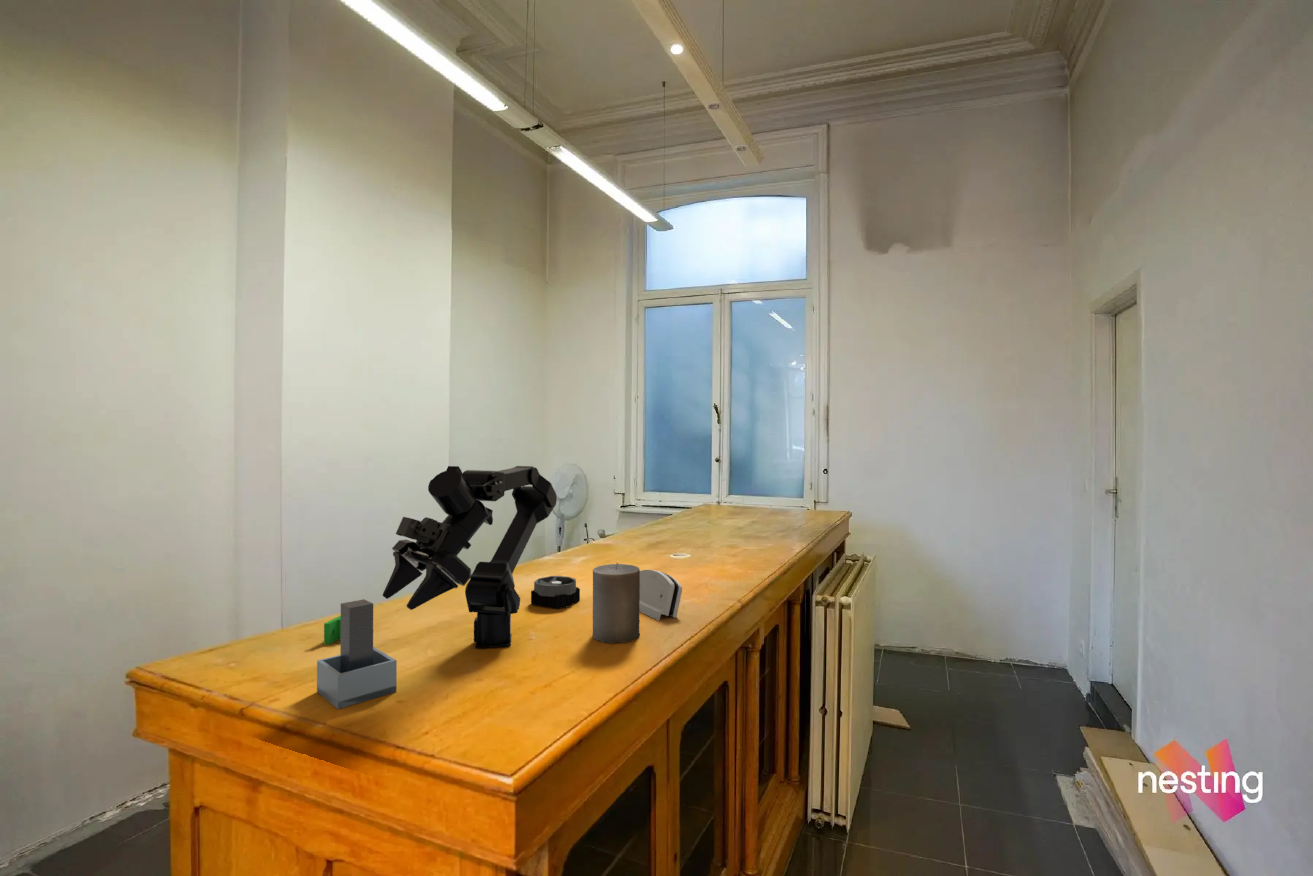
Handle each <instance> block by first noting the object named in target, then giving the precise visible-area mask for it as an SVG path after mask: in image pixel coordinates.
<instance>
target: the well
mask: <svg viewBox="0 0 1313 876" xmlns="http://www.w3.org/2000/svg"><path fill="white" fill-rule="evenodd" d="M397 666H398V665H397V659H396V658H393V657H392V656H390V655H388V654H387V653H385V652H383V651H381V650H380V649H378V648H376V647H374V646H373V665H371V666H367V667H364V668H360V669H356V670H352V671H348V672H344V673H340V667H341V654H337V655H334V656H330V657H325V658H321V659H318V660H316V693H318V694H319V695H320V696H321V697H323V698H324V699H325V700H326V701H327V702H329V703H330V704H331V705H332V706H333V707H335V708H336V709H337V710H340V709H343V708H346V707H349V706H350V707H351V706H354V705H356V704H360V703H363V702H367V701H370V700H375V699H377V698H380V697H384V696H387V695H390V694H393V693H397V674H398V673H397Z"/></svg>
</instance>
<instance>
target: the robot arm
mask: <svg viewBox="0 0 1313 876" xmlns="http://www.w3.org/2000/svg"><path fill="white" fill-rule="evenodd" d="M427 487H428V488H427V489H428V492H429V494H430V495H431V497H432V498H433V499H434V501H435V502H436V503H437V504H438V506H439V507H440V508H441V510H442V511H443V512H444V514H446V515H447V516H446V517H445V519H443V521H442V522H440V521H438V520H435V519H434V518H430V517H427V516H426V517H424V518H423V519H422V520H419V519H415V518H411V517H407V516H402V518H401V521H400V523H399V524H398V525H399V526H398V528H397V530H396V532H395V535H397V536H400V537H405V538H408V539H399V540H398V541H397V542H396V543H395V544H394V546H392V547H391V549H392V556H393V557H394V565H395V566H394V568H393V571H392V573H391V575H390V577H389V580H388V582H387V584H386V586H385V588H384V590H383V593H382V597H383V598H385V599H386V600H388V599H389V598H391V597H393V596H394V595H396V594H397V593H399V592H400V591H402V590H403V589H404V588H405V587H407V586H408V585H410V584H411V583H412V582H414V581H415V580H417V579H418V578H419V577H421V576H422V575H423V571H425V576H424V578H423V580H422V581H420V582H421V583H420V584H419V585H418V587H417V588H416V590H415V591H414V592H413V594H412V596H411V597H410V599H409V600H408V602H407V603H406V608H407V609H409V610H411V611H412V610H414V609H416V608H418V607H420V606H421V605H423V604H426V603H428V602H430V601H431V600H433V599H434V598H437V597H438V596H440V595H443V594H445V593H447V592H449V591H451V590H453V589H457V588H458V587H459V585H460V586H462V587H464V586H465V591H464V593H465V601H466V604H467V609H468V613H476V616H475V618H474V621H473V642H474V643H475V649H484V648H501V647H503V648H504V647H510V646H511V645H512V633H511V631H512V630H511V629H512V626H511V625H512V621H511V619H512V618H511V617H512V615H513V614H517V613H518V612H519V610H520V605H521V597H520V595H519V594H518V592H517V590H516V589H515V587H516V585H515V581H514V576H513V573H514V571H515V569H516V567H517V565H518V563H519V561H520V559H521V557H522V554H523V553H524V551H525V549H526V546H527V545H528V543H529V540H530V538H531V536H532V535H533V532H534V530H535V528H536V527H537V524H539V523H541V522H542V521H544V520H546V519H548V517H549V516H550V515H551V513H552V511H553V510H554V508H555V507H556V505H557V501H558V497H557V494H556V491H555V489H554V487H553V484H552V482H550V481H549V480H548V479H546V478H545V477H544V476H543V475H541V474H540V472H539V469H538V468H537V467H535V466H532V465H530V466H529V465H516V466H514V467H511V468H507V469H501V470H480V469H479V470H477V469H475V470H474V469H467V470H465V471H463V472H462V469H461V467H460V466H458V465H457V466H456V465H453V466H452V465H448V466H447V468H446V470H444V471H441V472H440V473H438V474H436V475H435V476H434V477H433V478H432V479H431V480H430V481H429V482H428V486H427ZM510 490H512V492H511V495H512V498H513V500H514V505H515V509H516V513H515V515H514V517H513V519H512V521H510V522H511V523H510V525H508V528H507V531H506V532H505V534H504V535H503V538H502V539H501V542H500V543H499V545H498V547H497V549H496V550H495V553H494V554H493V556H492V558H491V559H490V561H479V562H478V563H476V566H475V568H474V570H473V571H472V569H471V568H470V567H469V566H468V564H466V563H465V562H464V561H463V560H462V559H461V558H459V556H458V555H459V554H460V552H461V551H462V550H464V549H465V550H469V549H470V548H471V546H472V544H471V543H470V542H469V541H470V540H471V539H472V538H473V537H474V535H475V534H476V532H478V530H480V528H481V527H482V526H483V524H487V525H488V526H492V525H493V523H494V518H493V509H490V508H488V507H486V506H485V505H484V503H483V502H496V501H499V500H500V499H502V498H503V497H504V496H505V493H506V491H510ZM409 539H411V540H413V541H411V540H409ZM414 540H415V541H414Z"/></svg>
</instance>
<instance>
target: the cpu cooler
mask: <svg viewBox="0 0 1313 876" xmlns="http://www.w3.org/2000/svg"><path fill="white" fill-rule="evenodd" d="M533 584H534V585H533V589H532V590H531V591H530V604H531V606H536V607H543V608H549V609H555V610H559V609H565V608H567V607H570V606H572V605H575V604H576V603H578V602H580V600H581V596H580V595H581V594H580V593H581V588H579V587H578V586H577V579H576V578H574V577H570V576H564V575H550V576H545V577H544V576H543V577H539V578H537V579H536V580H534V582H533Z"/></svg>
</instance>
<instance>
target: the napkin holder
mask: <svg viewBox="0 0 1313 876" xmlns="http://www.w3.org/2000/svg"><path fill="white" fill-rule="evenodd" d="M682 593H683V586H682V585H681V583H679V581H678V580H677V579H675V578H674V577H672V576H671V575H669V574H667V573H665V572H662V571H659V570H654V569H641V570H640V602H639V605H640V606H639V608H640V613H641V614H644V615H646V616H647V617H649V618H652V619H654V620H656V621H660V620H661V616H662V615H663V616H667V617H671V618H677V615H678V611H679V608H680V604H681V603H680V602H681V599H682Z"/></svg>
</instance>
